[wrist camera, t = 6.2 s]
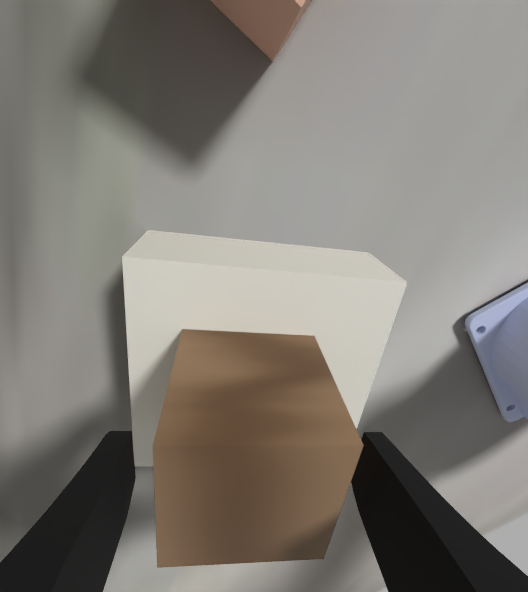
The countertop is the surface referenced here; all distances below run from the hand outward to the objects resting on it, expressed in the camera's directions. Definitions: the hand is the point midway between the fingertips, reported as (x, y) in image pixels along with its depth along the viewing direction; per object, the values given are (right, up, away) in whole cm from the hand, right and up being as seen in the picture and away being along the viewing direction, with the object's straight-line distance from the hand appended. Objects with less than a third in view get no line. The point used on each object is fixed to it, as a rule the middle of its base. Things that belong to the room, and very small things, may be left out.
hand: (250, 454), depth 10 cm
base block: (0, +3, +7) cm, 7 cm away
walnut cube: (0, +1, +3) cm, 3 cm away
